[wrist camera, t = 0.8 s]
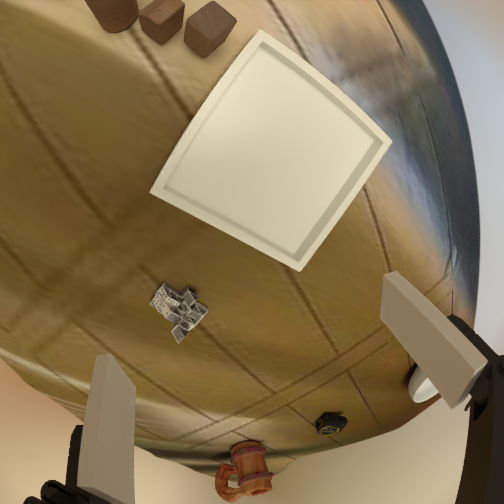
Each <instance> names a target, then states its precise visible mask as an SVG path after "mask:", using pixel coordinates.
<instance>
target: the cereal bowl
mask: <svg viewBox="0 0 504 504" xmlns="http://www.w3.org/2000/svg"><path fill="white" fill-rule="evenodd" d="M408 390H409V394H410V396H411V398H412V399H413V401H414V402H417V403H418V402H423V401H425V400H427V399H429V398H431V397H433V396H434V395H435V394H437V393H438V391H437V389H436V388H435V387H434V385H433V384H432V383H431V381H430V380H429V379H428V377H427V376H426V375H425V373H424V372H423V371H422V370H421V368H420V367H419V366H417V368H416V369H415V371H414V373H413V375H412V377H411V379H410V381H409V387H408Z"/></svg>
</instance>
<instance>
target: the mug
mask: <svg viewBox="0 0 504 504" xmlns="http://www.w3.org/2000/svg"><path fill="white" fill-rule="evenodd" d="M265 451H266V448H264V447H261V445H260V444H259V443H257V442H253V441H246V442H242V443H239V444H237V445H235V446H234V447H233V449H232V450H231V463H234V464H235V467H233V466H230V465H227V464H222V465H221V467H220V468H219V470H218V472H217V474H216V477H215V488H216V491H217V493H218V494H219V496H220V497H221V498H222V499H224V500H225V501H227V502H231V503H233V502H236V501H237V500H238V499H239V498H240V497H241V496H242V495H248V496H249V495H252V496H253V495H258V494H259V493H260V494H263V493H265V492H267V491H271V489H272V485H271V480H272V476H273V473H270V472H268V468H267V465H266V462H265V459H264V455H265ZM231 474H238V476H239V480H238V486H240V488H237V489H234V488H231V487H228V478H229V476H230V475H231Z"/></svg>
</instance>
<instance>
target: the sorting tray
mask: <svg viewBox="0 0 504 504" xmlns="http://www.w3.org/2000/svg"><path fill="white" fill-rule="evenodd" d="M391 143H392V141H391V139H390V138H389V137H388V136H387V135H386V134H385V133H384V132H383V131H382V130H381V129H380V128H379V127H378V126H377V125H376V124H375V123H374V122H373V121H372V120H371V119H370V118H369V117H368V116H367V115H366V114H365V113H364V112H363V111H362V110H361V109H360V108H359V107H358V106H357V105H356V104H355V103H354V102H353V101H352V100H351V99H350V98H349V97H347V96H346V95H345V94H344V93H343V92H342V91H341V90H340V89H339V88H337V87H336V86H335V85H334V84H333V83H332V82H330V81H329V80H328V79H327V78H326V77H325V76H323V75H322V74H321V73H320V72H318V71H317V70H316V69H315V68H314V67H312V66H311V65H310V64H308V63H307V62H306V61H305V60H303V59H302V58H301V57H299V56H298V55H297V54H295V53H294V52H293V51H291V50H290V49H289V48H287V47H286V46H284V45H283V44H282V43H280V42H279V41H277V40H276V39H274V38H273V37H271V36H270V35H268V34H267V33H265V32H264V31H262V30H261V29H260V30H259V31H258V32H257V33H256V34H255V35H254V36H253V37H252V38H251V39H250V41H249V42H248V43H247V44H246V45H245V47H244V48H243V49H242V50H241V52H240V53H239V54H238V55H237V57H236V58H235V59H234V61H233V62H232V63H231V65H230V66H229V67H228V69H227V70H226V71H225V73H224V74H223V75H222V77H221V78H220V79H219V81H218V82H217V83H216V85H215V86H214V88H213V89H212V91H211V92H210V93H209V95H208V96H207V98H206V99H205V101H204V102H203V104H202V105H201V106H200V108H199V109H198V111H197V112H196V114H195V115H194V117H193V119H192V120H191V122H190V123H189V125H188V126H187V128H186V129H185V131H184V133H183V134H182V136H181V137H180V139H179V141H178V142H177V144H176V146H175V147H174V149H173V150H172V152H171V154H170V156H169V157H168V159H167V161H166V162H165V164H164V166H163V168H162V169H161V171H160V173H159V175H158V176H157V178H156V180H155V182H154V184H153V185H152V188H151V190H150V193H151V194H153V195H155V196H157V197H159V198H161V199H163V200H164V201H166V202H168V203H170V204H172V205H174V206H176V207H178V208H180V209H182V210H184V211H185V212H187V213H189V214H191V215H193V216H195V217H197V218H199V219H201V220H203V221H204V222H206V223H208V224H210V225H212V226H214V227H216V228H218V229H220V230H222V231H223V232H225V233H227V234H229V235H231V236H233V237H235V238H237V239H239V240H241V241H242V242H244V243H246V244H248V245H250V246H252V247H254V248H256V249H258V250H259V251H261V252H263V253H265V254H267V255H269V256H271V257H273V258H275V259H276V260H278V261H280V262H282V263H284V264H286V265H288V266H290V267H292V268H293V269H295V270H297V271H299V272H300V271H301V270H302V269H303V267H304V266H305V265H306V263H307V262H308V261H309V259H310V258H311V257H312V255H313V254H314V253H315V251H316V250H317V249H318V247H319V246H320V245H321V243H322V242H323V241H324V239H325V238H326V237H327V235H328V234H329V232H330V231H331V230H332V228H333V227H334V226H335V224H336V223H337V221H338V220H339V219H340V217H341V216H342V214H343V213H344V212H345V210H346V209H347V207H348V206H349V205H350V203H351V202H352V200H353V199H354V197H355V196H356V195H357V193H358V192H359V190H360V189H361V187H362V186H363V185H364V183H365V182H366V180H367V179H368V177H369V176H370V174H371V173H372V171H373V170H374V168H375V167H376V165H377V164H378V162H379V161H380V159H381V158H382V156H383V155H384V153H385V152H386V150H387V149H388V147H389V146H390V144H391Z"/></svg>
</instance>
